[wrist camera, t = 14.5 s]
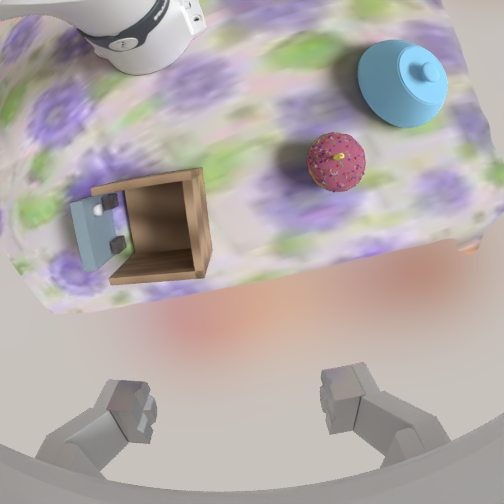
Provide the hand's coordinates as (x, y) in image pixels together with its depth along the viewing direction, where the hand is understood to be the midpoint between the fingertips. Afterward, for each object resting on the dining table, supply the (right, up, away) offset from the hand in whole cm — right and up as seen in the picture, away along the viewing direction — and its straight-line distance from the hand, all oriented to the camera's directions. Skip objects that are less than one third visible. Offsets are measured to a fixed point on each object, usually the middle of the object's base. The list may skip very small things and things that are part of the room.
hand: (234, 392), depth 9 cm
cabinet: (-16, +10, +35) cm, 40 cm away
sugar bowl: (+24, +32, +30) cm, 50 cm away
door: (-23, +10, +35) cm, 43 cm away
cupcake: (+12, +19, +34) cm, 40 cm away
